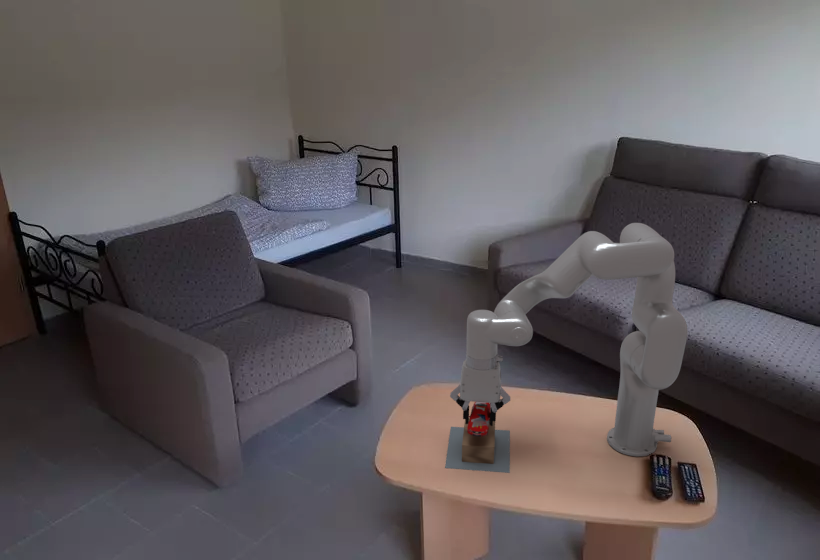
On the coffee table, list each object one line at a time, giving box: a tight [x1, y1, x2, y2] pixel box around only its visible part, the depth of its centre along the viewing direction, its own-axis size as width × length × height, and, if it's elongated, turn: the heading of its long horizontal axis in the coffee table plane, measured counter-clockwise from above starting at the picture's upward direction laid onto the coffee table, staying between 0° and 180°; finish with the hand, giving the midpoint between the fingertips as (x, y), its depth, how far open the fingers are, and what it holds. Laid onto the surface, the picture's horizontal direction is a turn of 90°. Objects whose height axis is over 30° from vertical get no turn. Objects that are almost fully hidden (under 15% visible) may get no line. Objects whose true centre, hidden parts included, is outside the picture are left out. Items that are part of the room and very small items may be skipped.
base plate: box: [444, 426, 511, 474], centre depth 174 cm, size 16×18×1 cm
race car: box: [467, 402, 491, 437], centre depth 170 cm, size 13×5×4 cm, turn 166°
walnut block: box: [462, 417, 496, 464], centre depth 173 cm, size 8×12×5 cm, turn 172°
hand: (479, 421), depth 171 cm, fingers closed on race car, 5 cm apart
